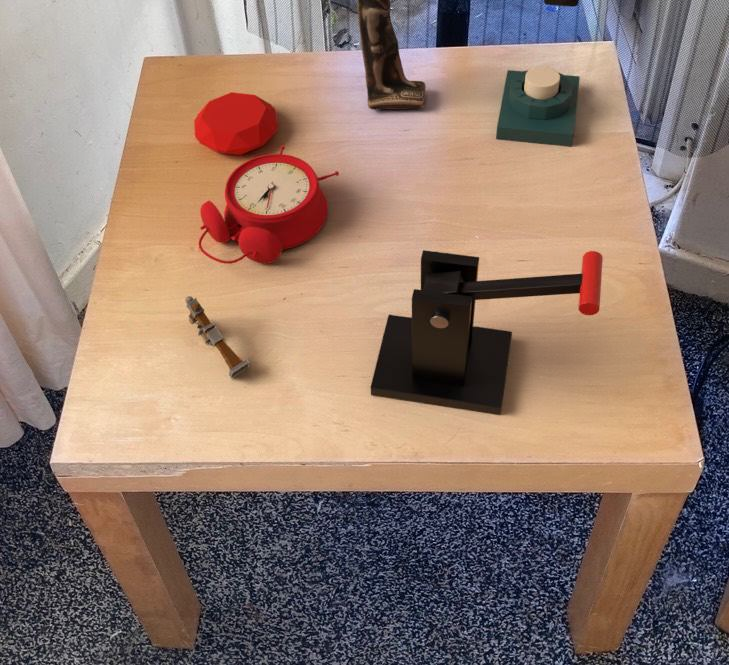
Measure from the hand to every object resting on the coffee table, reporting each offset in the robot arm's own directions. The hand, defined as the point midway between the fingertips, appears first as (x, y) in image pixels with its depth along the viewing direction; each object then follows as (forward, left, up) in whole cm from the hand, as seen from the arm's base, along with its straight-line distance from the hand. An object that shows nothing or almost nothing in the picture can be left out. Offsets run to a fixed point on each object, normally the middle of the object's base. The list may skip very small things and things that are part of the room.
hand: (561, 0), depth 81 cm
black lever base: (+6, +34, -15) cm, 37 cm away
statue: (+17, -1, -15) cm, 22 cm away
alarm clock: (+26, +20, -15) cm, 36 cm away
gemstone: (+33, +7, -15) cm, 37 cm away
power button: (+1, -2, -11) cm, 12 cm away
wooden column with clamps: (+26, +36, -15) cm, 47 cm away
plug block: (+1, -2, -15) cm, 15 cm away
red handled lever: (0, +34, -4) cm, 34 cm away
